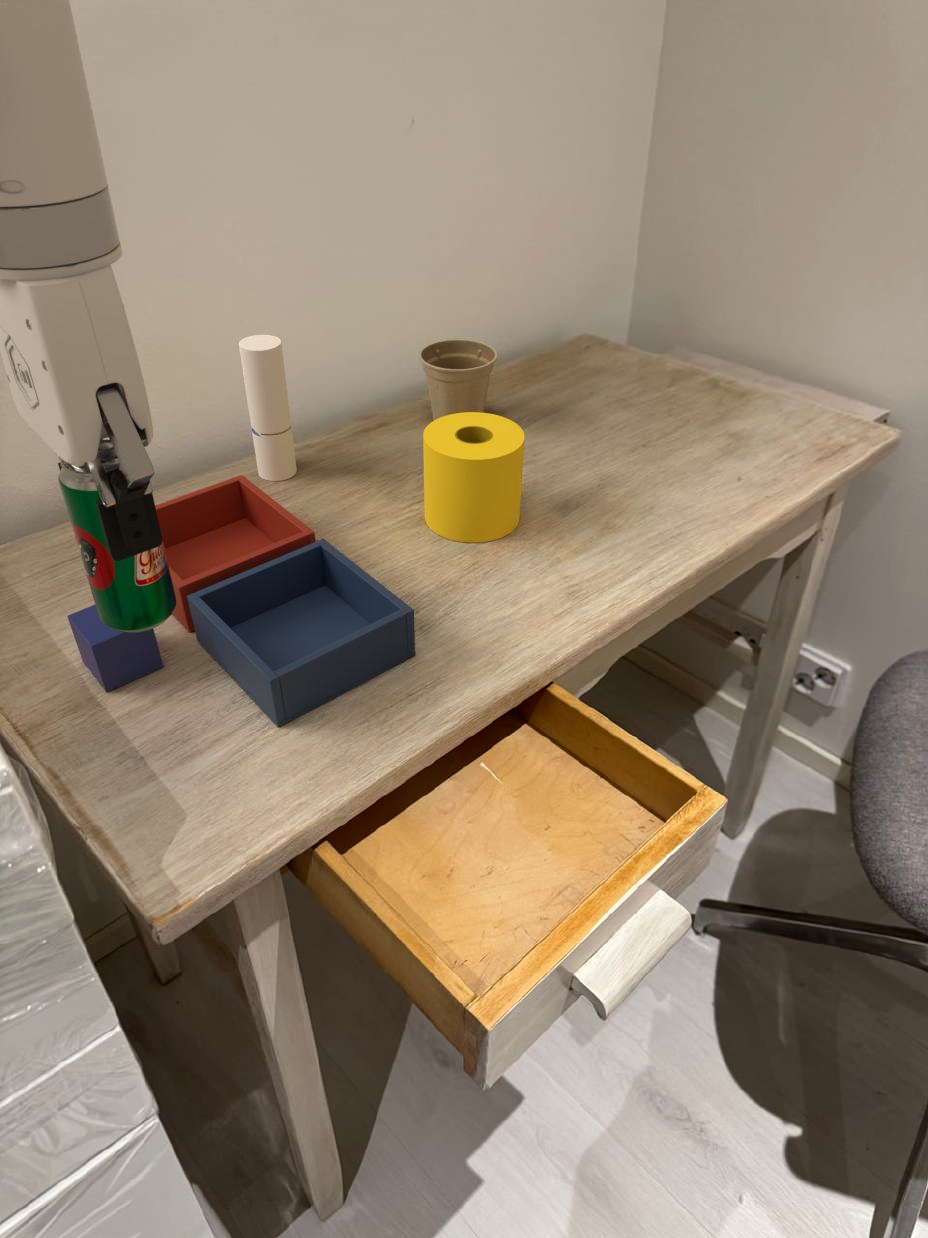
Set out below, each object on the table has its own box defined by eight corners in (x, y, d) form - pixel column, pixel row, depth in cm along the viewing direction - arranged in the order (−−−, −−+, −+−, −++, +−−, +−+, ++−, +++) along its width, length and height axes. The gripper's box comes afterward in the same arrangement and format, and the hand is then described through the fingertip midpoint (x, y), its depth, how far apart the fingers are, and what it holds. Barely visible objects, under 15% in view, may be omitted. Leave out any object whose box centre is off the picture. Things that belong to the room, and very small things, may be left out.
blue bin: (278, 728, 70) (270, 681, 67) (196, 641, 78) (186, 595, 75) (415, 655, 77) (414, 609, 74) (327, 582, 85) (323, 538, 82)
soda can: (166, 638, 59) (127, 477, 51) (89, 636, 59) (39, 475, 51) (186, 592, 63) (153, 437, 55) (114, 590, 63) (71, 434, 55)
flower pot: (405, 425, 110) (402, 357, 105) (446, 397, 116) (446, 332, 111) (470, 445, 106) (471, 376, 101) (508, 415, 112) (512, 348, 107)
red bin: (189, 633, 79) (178, 587, 76) (124, 563, 87) (112, 520, 84) (319, 575, 86) (314, 531, 82) (248, 516, 94) (241, 474, 90)
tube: (303, 465, 102) (288, 337, 93) (285, 483, 99) (268, 353, 89) (270, 459, 103) (251, 332, 94) (251, 477, 100) (230, 347, 90)
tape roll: (538, 525, 93) (544, 443, 87) (455, 552, 89) (455, 469, 83) (487, 482, 99) (489, 404, 93) (407, 506, 95) (405, 425, 89)
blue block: (106, 692, 73) (91, 646, 70) (82, 661, 76) (66, 615, 72) (163, 666, 75) (151, 620, 72) (138, 637, 78) (125, 591, 75)
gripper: (-87, 204, 48) (11, 495, 60) (20, 287, 38) (115, 619, 50) (52, 185, 52) (120, 462, 64) (183, 256, 42) (236, 571, 53)
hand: (117, 528), depth 56 cm, fingers closed on soda can, 5 cm apart
